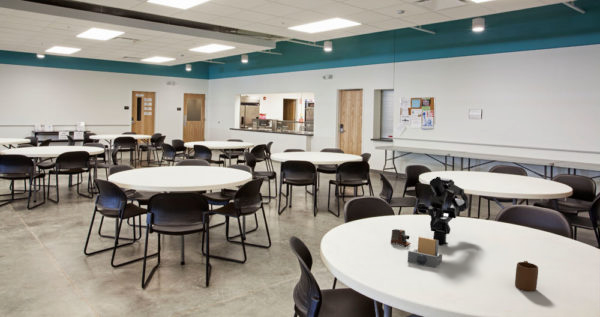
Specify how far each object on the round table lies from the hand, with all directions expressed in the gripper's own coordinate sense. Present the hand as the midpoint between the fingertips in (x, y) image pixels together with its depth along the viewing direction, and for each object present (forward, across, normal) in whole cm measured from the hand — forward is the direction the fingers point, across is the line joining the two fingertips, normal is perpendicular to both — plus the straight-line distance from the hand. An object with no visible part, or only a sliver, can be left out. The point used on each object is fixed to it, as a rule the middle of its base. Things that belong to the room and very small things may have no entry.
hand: (432, 224), depth 202 cm
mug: (+24, +43, -4) cm, 49 cm away
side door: (+17, +1, +1) cm, 17 cm away
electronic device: (+9, -16, +11) cm, 21 cm away
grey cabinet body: (+22, +2, -3) cm, 22 cm away
